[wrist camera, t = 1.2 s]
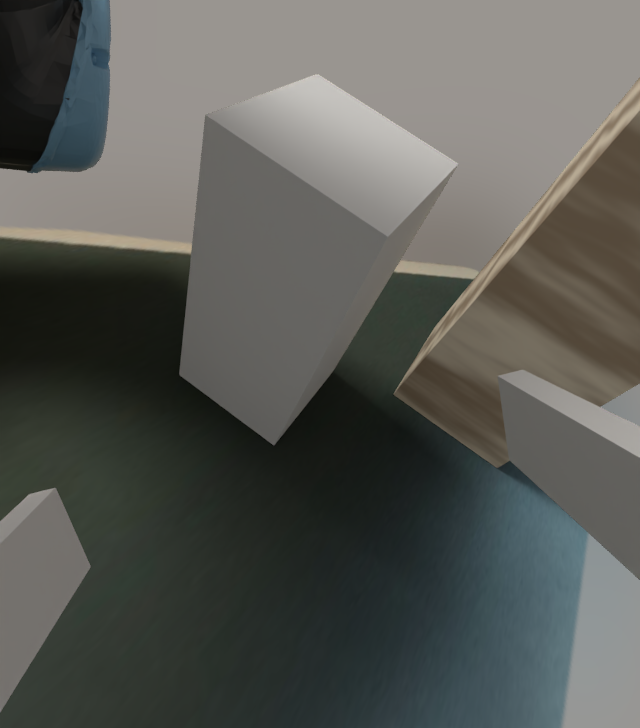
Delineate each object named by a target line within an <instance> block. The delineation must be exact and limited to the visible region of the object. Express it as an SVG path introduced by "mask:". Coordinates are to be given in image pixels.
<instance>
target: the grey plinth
mask: <svg viewBox="0 0 640 728" xmlns="http://www.w3.org/2000/svg"><path fill="white" fill-rule="evenodd" d="M457 166H458V163H456V162H455V161H453V160H452V159H450V158H449V157H447V156H445V155H444V154H442V153H440V152H439V151H438V150H436V149H434V148H433V147H431V146H430V145H428V144H427V143H425V142H423V141H422V140H420V139H419V138H417V137H416V136H414V135H412V134H411V133H409V132H408V131H406V130H404V129H403V128H401V127H400V126H398V125H397V124H395V123H394V122H392V121H390V120H389V119H387V118H386V117H384V116H383V115H381V114H379V113H378V112H376V111H375V110H373V109H372V108H370V107H368V106H367V105H365V104H364V103H362V102H361V101H359V100H357V99H356V98H354V97H353V96H351V95H349V94H348V93H346V92H345V91H343V90H342V89H340V88H339V87H337V86H335V85H334V84H332V83H331V82H329V81H328V80H326V79H325V78H323V77H321V76H320V75H318V74H316V75H314V76H310V77H308V78H305V79H302V80H300V81H297V82H294V83H291V84H289V85H286V86H283V87H280V88H278V89H275V90H272V91H269V92H267V93H264V94H261V95H259V96H256V97H253V98H250V99H248V100H245V101H242V102H239V103H237V104H234V105H231V106H228V107H226V108H223V109H220V110H218V111H215V112H212V113H210V114H207V115H205V125H204V133H203V144H202V153H201V163H200V173H199V183H198V193H197V203H196V213H195V222H194V232H193V242H192V252H191V262H190V272H189V282H188V292H187V302H186V311H185V321H184V331H183V341H182V351H181V361H180V371H179V375H180V376H181V377H183V378H184V379H185V380H187V381H188V382H189V383H191V384H192V385H193V386H195V387H196V388H197V389H199V390H200V391H201V392H203V393H204V394H205V395H207V396H208V397H209V398H211V399H212V400H213V401H215V402H216V403H217V404H219V405H220V406H221V407H223V408H224V409H225V410H227V411H228V412H229V413H231V414H232V415H234V416H235V417H236V418H238V419H239V420H240V421H242V422H243V423H244V424H246V425H247V426H248V427H250V428H251V429H252V430H254V431H255V432H256V433H258V434H259V435H260V436H262V437H263V438H264V439H266V440H267V441H268V442H270V443H271V444H272V445H275V444H276V443H277V441H278V440H279V439H280V438H281V436H282V435H283V434H284V433H285V431H286V430H287V429H288V428H289V426H290V425H291V424H292V423H293V421H294V420H295V419H296V417H297V416H298V415H299V414H300V412H301V411H302V410H303V409H304V407H305V406H306V405H307V404H308V402H309V401H310V400H311V399H312V397H313V396H314V395H315V394H316V392H317V391H318V390H319V388H320V387H321V386H322V385H323V383H324V382H325V381H326V380H327V378H328V377H329V376H330V375H331V373H332V372H333V371H334V369H335V367H336V366H337V364H338V362H339V361H340V359H341V357H342V356H343V354H344V352H345V351H346V349H347V348H348V346H349V344H350V343H351V341H352V339H353V338H354V336H355V334H356V333H357V331H358V329H359V328H360V326H361V324H362V323H363V321H364V319H365V318H366V316H367V314H368V313H369V311H370V310H371V308H372V306H373V305H374V303H375V301H376V300H377V298H378V296H379V295H380V293H381V291H382V290H383V288H384V286H385V285H386V283H387V281H388V280H389V278H390V277H391V275H392V273H393V272H394V270H395V268H396V267H397V265H398V263H399V262H400V260H401V258H402V257H403V255H404V253H405V252H406V250H407V248H408V247H409V245H410V243H411V242H412V240H413V239H414V237H415V235H416V234H417V232H418V230H419V229H420V227H421V225H422V224H423V222H424V220H425V219H426V217H427V215H428V214H429V212H430V210H431V209H432V207H433V206H434V204H435V202H436V201H437V199H438V197H439V196H440V194H441V192H442V191H443V189H444V187H445V186H446V184H447V182H448V181H449V179H450V177H451V176H452V174H453V172H454V171H455V169H456V168H457Z"/></svg>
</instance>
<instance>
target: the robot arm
mask: <svg viewBox="0 0 640 728" xmlns="http://www.w3.org/2000/svg"><path fill="white" fill-rule="evenodd" d="M110 26H111V25H110V1H109V0H0V168H3V169H14V170H24V171H27V172H28V173H33V172H34V173H38V172H40V171H42V170H45V171H70V172H80V171H84V170H87V169H88V168H91V167H93V166H94V165H96V163H97V162H98V161H99V159H100V158H101V155H102V153H103V149H104V144H105V138H106V131H107V121H108V108H109V92H110V88H109V87H110V70H109V65H108V62H109V60H110V41H111V27H110ZM498 383H499V391H500V398H501V405H502V412H503V420H504V427H505V434H506V442H507V449H508V456H509V460H510V461H511V462H512V463H513V464H514V465H515V466H516V467H517V468H519V469H520V470H521V471H522V472H523V473H524V474H525V475H526V476H527V477H528V478H529V479H531V480H532V481H533V482H534V483H535V484H536V485H537V486H538V487H539V488H540V489H541V490H542V491H544V492H545V493H546V494H547V495H548V496H549V497H550V498H551V499H552V500H553V501H554V502H556V503H557V504H558V505H559V506H560V507H561V508H562V509H563V510H564V511H565V512H566V513H567V514H569V515H570V516H571V517H572V518H573V519H574V520H575V521H576V522H577V523H578V524H579V525H581V526H582V527H583V528H584V529H585V530H586V531H587V532H588V533H589V534H590V535H591V536H593V537H594V538H595V539H596V540H597V541H598V542H599V543H600V544H601V545H602V546H603V547H604V548H606V549H607V550H608V551H609V552H610V553H611V554H612V555H613V556H614V557H615V558H616V559H618V560H619V561H620V562H621V563H622V564H623V565H624V566H625V567H626V568H627V569H628V570H629V571H631V572H632V573H633V574H634V575H635V576H636V577H637V578H638V579H639V580H640V426H638V425H636V424H634V423H632V422H629V421H627V420H625V419H623V418H621V417H619V416H617V415H615V414H613V413H611V412H609V411H607V410H605V409H603V408H601V407H599V406H597V405H595V404H593V403H591V402H588V401H586V400H584V399H582V398H580V397H578V396H576V395H574V394H572V393H570V392H568V391H566V390H564V389H562V388H560V387H558V386H556V385H554V384H551V383H549V382H547V381H545V380H543V379H541V378H539V377H537V376H535V375H533V374H531V373H529V372H527V371H525V370H519V371H515V372H511V373H507V374H503V375H499V376H498ZM90 567H91V566H90V564H89V562H88V559H87V557H86V555H85V553H84V550H83V548H82V546H81V544H80V541H79V539H78V537H77V535H76V532H75V530H74V528H73V526H72V523H71V521H70V519H69V517H68V514H67V512H66V510H65V508H64V505H63V503H62V501H61V499H60V496H59V494H58V492H57V490H56V488H52V489H48V490H44V491H40V492H36V493H32V494H29V495H28V496H27V497H26V498H25V499H24V500H23V501H22V502H21V503H20V504H18V505H17V506H16V507H15V508H14V509H13V510H12V511H11V512H10V513H9V514H8V515H7V516H6V517H5V518H4V519H2V520H1V521H0V712H1V710H2V708H3V707H4V705H5V704H6V702H7V700H8V699H9V697H10V696H11V694H12V692H13V691H14V689H15V688H16V686H17V684H18V683H19V681H20V680H21V678H22V676H23V675H24V673H25V672H26V670H27V668H28V667H29V665H30V664H31V662H32V660H33V659H34V657H35V655H36V654H37V652H38V651H39V649H40V647H41V646H42V644H43V643H44V641H45V639H46V638H47V636H48V635H49V633H50V631H51V630H52V628H53V627H54V625H55V623H56V622H57V620H58V619H59V617H60V615H61V614H62V612H63V610H64V609H65V607H66V606H67V604H68V602H69V601H70V599H71V598H72V596H73V594H74V593H75V591H76V590H77V588H78V586H79V585H80V583H81V582H82V580H83V578H84V577H85V575H86V574H87V572H88V570H89V569H90Z"/></svg>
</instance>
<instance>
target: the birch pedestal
mask: <svg viewBox="0 0 640 728" xmlns="http://www.w3.org/2000/svg"><path fill="white" fill-rule="evenodd" d="M519 370H525V371H527V372H529V373H531V374H533V375H535V376H537V377H539V378H541V379H543V380H545V381H547V382H549V383H551V384H554V385H556V386H558V387H560V388H562V389H564V390H566V391H568V392H570V393H572V394H574V395H576V396H578V397H580V398H582V399H584V400H586V401H588V402H591V403H593V404H595V405H597V406H599V407H600V406H602V405H604V404H605V403H607V402H609V401H611V400H612V399H614V398H616V397H618V396H619V395H621V394H623V393H624V392H626V391H628V390H629V389H631V388H633V387H634V386H636V385H638V384H639V383H640V78H639V79H638V80H637V82H636V83H635V84H634V85H633V86H632V88H631V89H630V90H629V91H628V93H627V94H626V95H625V96H624V97H623V99H622V100H621V101H620V102H619V103H618V105H617V106H616V107H615V108H614V109H613V111H612V112H611V113H610V114H609V116H608V117H607V118H606V119H605V121H604V122H603V123H602V124H601V125H600V127H599V128H598V129H597V130H596V132H595V133H594V134H593V135H592V136H591V138H590V139H589V140H588V141H587V142H586V144H585V145H584V146H583V147H582V148H581V150H580V151H579V152H578V153H577V155H576V156H575V157H574V158H573V159H572V161H571V162H570V163H569V164H568V165H567V167H566V168H565V169H564V170H563V172H562V173H561V174H560V175H559V176H558V178H557V179H556V180H555V181H554V183H553V184H552V185H551V186H550V188H549V189H548V190H547V191H546V192H545V194H544V195H543V196H542V197H541V198H540V200H539V201H538V202H537V203H536V205H535V206H534V207H533V208H532V209H531V211H530V212H529V213H528V214H527V215H526V217H525V218H524V219H523V220H522V222H521V223H520V224H519V225H518V226H517V228H516V229H515V230H514V231H513V233H512V234H511V235H510V236H509V237H508V239H507V240H506V241H505V242H504V243H503V245H502V246H501V247H500V248H499V250H498V251H497V252H496V253H495V254H494V256H493V257H492V258H491V259H490V261H489V262H488V263H487V264H486V265H485V267H484V268H483V269H482V270H481V272H480V273H479V274H478V275H477V276H476V278H475V279H474V280H473V281H472V282H471V284H470V285H469V286H468V287H467V289H466V290H465V291H464V292H463V293H462V295H461V296H460V297H459V298H458V300H457V301H456V302H455V303H454V304H453V306H452V307H451V308H450V309H449V310H448V312H447V313H446V314H445V315H444V317H443V318H442V319H441V320H440V321H439V323H438V324H437V325H436V326H435V328H434V329H433V331H432V332H431V334H430V336H429V337H428V339H427V341H426V342H425V344H424V345H423V347H422V349H421V350H420V352H419V353H418V355H417V357H416V358H415V360H414V362H413V363H412V365H411V366H410V368H409V370H408V371H407V373H406V374H405V376H404V378H403V379H402V381H401V383H400V384H399V386H398V387H397V389H396V391H395V392H394V394H393V395H395V396H396V397H397V398H399V399H400V400H402V401H403V402H404V403H406V404H407V405H409V406H410V407H411V408H413V409H414V410H416V411H417V412H419V413H420V414H421V415H423V416H424V417H426V418H427V419H428V420H430V421H431V422H433V423H434V424H435V425H437V426H438V427H440V428H441V429H443V430H444V431H445V432H447V433H448V434H450V435H451V436H452V437H454V438H455V439H457V440H458V441H459V442H461V443H462V444H464V445H465V446H466V447H468V448H469V449H471V450H472V451H474V452H475V453H476V454H478V455H479V456H481V457H482V458H483V459H485V460H486V461H488V462H489V463H490V464H492V465H493V466H495V467H496V468H498V467H500V466H502V465H503V464H505V463H507V462H508V461H510V460H509V456H508V449H507V442H506V434H505V427H504V420H503V412H502V405H501V398H500V391H499V383H498V376H499V375H503V374H507V373H511V372H515V371H519Z"/></svg>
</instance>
